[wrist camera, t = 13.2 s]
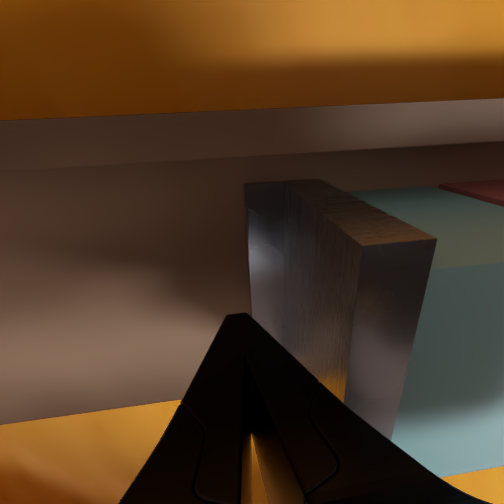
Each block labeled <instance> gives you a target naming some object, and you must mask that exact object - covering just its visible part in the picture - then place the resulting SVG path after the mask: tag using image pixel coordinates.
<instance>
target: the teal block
mask: <svg viewBox="0 0 504 504" xmlns="http://www.w3.org/2000/svg"><path fill="white" fill-rule="evenodd" d="M347 193H349V194H350V195H352V196H354V197H356V198H358V199H360V200H362V201H364V202H366V203H368V204H370V205H372V206H374V207H376V208H378V209H380V210H382V211H384V212H386V213H388V214H390V215H392V216H394V217H396V218H398V219H400V220H402V221H404V222H406V223H408V224H410V225H412V226H414V227H416V228H418V229H420V230H422V231H424V232H426V233H428V234H430V235H431V236H433V237H435V238H437V243H436V247H435V252H434V256H433V260H432V265H431V269H430V274H429V278H428V282H427V287H426V291H425V295H424V300H423V304H422V308H421V313H420V317H419V321H418V326H417V330H416V334H415V339H414V343H413V347H412V352H411V356H410V360H409V365H408V369H407V373H406V378H405V382H404V386H403V391H402V395H401V399H400V404H399V408H398V412H397V417H396V421H395V425H394V430H393V434H392V438H391V441H392V442H393V443H394V444H396V445H397V446H398V447H399V448H401V449H402V450H403V451H405V452H406V453H407V454H409V455H410V456H411V457H412V458H414V459H415V460H416V461H418V462H419V463H420V464H422V465H423V466H424V467H425V468H427V469H428V470H429V471H431V472H432V473H434V474H435V475H436V476H438V477H439V478H440V477H446V476H451V475H457V474H462V473H468V472H473V471H479V470H484V469H489V468H495V467H500V466H504V207H502V206H499V205H495V204H492V203H488V202H485V201H481V200H478V199H474V198H471V197H467V196H463V195H460V194H456V193H453V192H449V191H446V190H442V189H439V188H435V187H432V186H419V187H406V188H393V189H380V190H366V191H353V192H347Z"/></svg>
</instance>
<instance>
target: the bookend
mask: <svg viewBox="0 0 504 504" xmlns="http://www.w3.org/2000/svg"><path fill="white" fill-rule="evenodd" d="M244 192H245V210H246V228H247V246H248V265H249V283H250V301H251V317H252V318H253V319H255V320H256V321H257V322H258V323H259V324H260V325H261V326H262V327H263V328H264V329H265V330H266V331H267V332H268V333H269V334H270V335H271V336H272V337H274V338H275V339H276V340H277V341H278V342H279V343H280V344H281V345H282V346H283V347H284V348H285V349H286V350H287V351H288V352H289V353H290V354H291V355H293V356H294V357H295V358H296V359H297V360H298V361H299V362H300V363H301V364H302V365H303V366H304V367H305V368H306V369H307V370H308V371H309V372H310V373H311V374H313V375H314V376H315V377H316V378H317V379H318V380H319V382H321V383H322V384H323V385H324V386H325V387H326V388H327V389H328V390H330V391H331V392H332V393H333V394H334V395H335V396H336V397H337V398H338V399H340V400H341V401H342V402H343V403H344V404H345V405H346V406H347V407H348V408H350V409H351V410H352V411H353V412H355V413H356V414H357V415H358V416H360V417H361V418H362V419H363V420H365V421H366V422H367V423H368V424H370V425H371V426H372V427H373V428H375V429H376V430H377V431H379V432H380V433H381V434H382V435H384V436H385V437H386V438H388V439H389V440H390V441H391V438H392V434H393V430H394V425H395V421H396V417H397V412H398V408H399V404H400V399H401V395H402V391H403V386H404V382H405V378H406V373H407V369H408V365H409V360H410V356H411V352H412V347H413V343H414V339H415V334H416V330H417V326H418V321H419V317H420V313H421V308H422V304H423V300H424V295H425V291H426V287H427V282H428V278H429V274H430V269H431V265H432V260H433V256H434V252H435V247H436V243H437V238H435V237H433V236H431V235H430V234H428V233H426V232H424V231H422V230H420V229H418V228H416V227H414V226H412V225H410V224H408V223H406V222H404V221H402V220H400V219H398V218H396V217H394V216H392V215H390V214H388V213H386V212H384V211H382V210H380V209H378V208H376V207H374V206H372V205H370V204H368V203H366V202H364V201H362V200H360V199H358V198H356V197H354V196H352V195H350V194H349V193H347V192H345V191H343V190H341V189H339V188H337V187H335V186H333V185H331V184H329V183H327V182H325V181H323V180H321V179H319V178H316V179H301V180H287V181H273V182H258V183H244Z"/></svg>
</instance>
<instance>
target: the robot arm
mask: <svg viewBox="0 0 504 504" xmlns="http://www.w3.org/2000/svg"><path fill="white" fill-rule="evenodd" d="M251 434H252V438H253V442H254V446H255V450H256V454H257V458H258V462H259V466H260V470H261V474H262V478H263V482H264V486H265V490H266V493H267V497H268V501H269V504H492V503H489V502H486V501H483V500H480V499H477V498H475V497H473V496H471V495H469V494H466V493H464V492H463V491H461V490H459V489H457V488H455V487H453V486H452V485H450V484H448V483H447V482H445V481H444V480H442V479H441V478H439V477H438V476H436V475H435V474H434V473H432V472H431V471H429V470H428V469H427V468H425V467H424V466H423V465H422V464H420V463H419V462H418V461H416V460H415V459H414V458H412V457H411V456H410V455H409V454H407V453H406V452H405V451H403V450H402V449H401V448H399V447H398V446H397V445H396V444H394V443H393V442H392V441H390V440H389V439H388V438H386V437H385V436H384V435H382V434H381V433H380V432H379V431H377V430H376V429H375V428H373V427H372V426H371V425H370V424H368V423H367V422H366V421H365V420H363V419H362V418H361V417H360V416H358V415H357V414H356V413H355V412H353V411H352V410H351V409H350V408H348V407H347V406H346V405H345V404H344V403H343V402H342V401H341V400H340V399H338V398H337V397H336V396H335V395H334V394H333V393H332V392H331V391H330V390H328V389H327V388H326V387H325V386H324V385H323V384H322V383H321V382H319V380H318V379H317V378H316V377H315V376H314V375H313V374H311V373H310V372H309V371H308V370H307V369H306V368H305V367H304V366H303V365H302V364H301V363H300V362H299V361H298V360H297V359H296V358H295V357H294V356H293V355H291V354H290V353H289V352H288V351H287V350H286V349H285V348H284V347H283V346H282V345H281V344H280V343H279V342H278V341H277V340H276V339H275V338H274V337H272V336H271V335H270V334H269V333H268V332H267V331H266V330H265V329H264V328H263V327H262V326H261V325H260V324H259V323H258V322H257V321H256V320H255V319H253V318H252V317H251V316H250V315H249V314H248V313H247V312H243V313H235V314H228V315H226V316H225V318H224V320H223V322H222V324H221V326H220V328H219V330H218V332H217V333H216V335H215V337H214V339H213V341H212V343H211V345H210V347H209V349H208V351H207V353H206V355H205V356H204V358H203V360H202V362H201V364H200V366H199V368H198V370H197V372H196V374H195V376H194V378H193V379H192V381H191V383H190V385H189V387H188V389H187V391H186V393H185V395H184V397H183V399H182V401H181V404H180V405H179V406H178V408H177V410H176V412H175V414H174V416H173V418H172V419H171V421H170V423H169V425H168V427H167V428H166V430H165V432H164V434H163V435H162V437H161V439H160V441H159V442H158V444H157V446H156V447H155V449H154V450H153V452H152V453H151V455H150V456H149V458H148V460H147V461H146V463H145V464H144V466H143V467H142V469H141V470H140V472H139V473H138V475H137V476H136V478H135V479H134V481H133V482H132V484H131V485H130V487H129V488H128V490H127V491H126V493H125V494H124V496H123V497H122V499H121V500H120V502H119V503H118V504H253V501H252V452H251Z"/></svg>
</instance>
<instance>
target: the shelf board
mask: <svg viewBox="0 0 504 504" xmlns="http://www.w3.org/2000/svg"><path fill="white" fill-rule="evenodd" d="M316 178H319V179H321V180H323V181H325V182H327V183H329V184H331V185H333V186H335V187H337V188H339V189H341V190H343V191H345V192H353V191H366V190H380V189H393V188H406V187H419V186H432V187H435V188H439V184H446V183H459V182H472V181H485V180H499V179H504V98H498V99H475V100H453V101H430V102H408V103H385V104H363V105H340V106H318V107H296V108H273V109H251V110H228V111H206V112H183V113H161V114H138V115H116V116H93V117H71V118H48V119H26V120H4V121H0V425H3V424H10V423H17V422H24V421H31V420H38V419H45V418H52V417H60V416H67V415H74V414H81V413H88V412H95V411H102V410H109V409H116V408H123V407H130V406H138V405H145V404H152V403H159V402H166V401H173V400H180V399H183V397H184V395H185V393H186V391H187V389H188V387H189V385H190V383H191V381H192V379H193V378H194V376H195V374H196V372H197V370H198V368H199V366H200V364H201V362H202V360H203V358H204V356H205V355H206V353H207V351H208V349H209V347H210V345H211V343H212V341H213V339H214V337H215V335H216V333H217V332H218V330H219V328H220V326H221V324H222V322H223V320H224V318H225V316H226V315H228V314H235V313H243V312H247V313H248V314H249V315H250V316H251V301H250V283H249V265H248V246H247V228H246V210H245V192H244V183H258V182H273V181H287V180H301V179H316Z"/></svg>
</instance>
